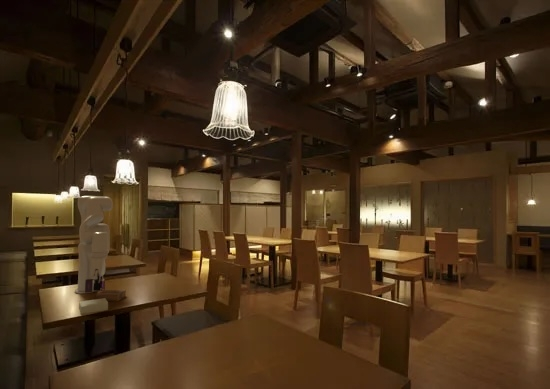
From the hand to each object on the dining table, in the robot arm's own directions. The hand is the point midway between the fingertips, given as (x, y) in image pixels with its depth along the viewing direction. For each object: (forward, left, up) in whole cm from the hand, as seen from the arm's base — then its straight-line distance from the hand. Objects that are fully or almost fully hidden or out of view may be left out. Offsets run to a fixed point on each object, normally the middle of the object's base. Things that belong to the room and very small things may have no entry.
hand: (98, 288), depth 166 cm
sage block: (+4, -1, -10) cm, 11 cm away
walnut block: (-14, +4, -10) cm, 18 cm away
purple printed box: (0, -2, -1) cm, 2 cm away
